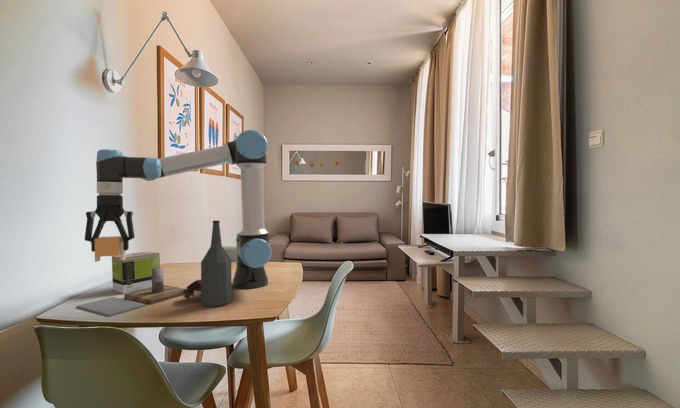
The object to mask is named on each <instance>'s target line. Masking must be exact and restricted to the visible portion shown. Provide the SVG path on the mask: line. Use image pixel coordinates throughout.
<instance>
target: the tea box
mask: <svg viewBox="0 0 680 408" xmlns="http://www.w3.org/2000/svg"><path fill="white" fill-rule="evenodd" d="M160 262H161V258H160V252H157V251H149V250H146V251H140V252H131V253H125V260H121V255H119V256H111V268H112V269H111V271H112V276H111V277H112V289H113V291H114V292H117V293H120V294H128V293H132V292H136V291H140V290H144V289H149V288H152V269H154V268H161V263H160Z"/></svg>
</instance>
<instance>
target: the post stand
mask: <svg viewBox="0 0 680 408" xmlns="http://www.w3.org/2000/svg"><path fill="white" fill-rule="evenodd" d="M184 289H186V290H188V289H187V288H183V287H179V286H174V285H173V286H171V285H166V284H164V268H163V267H160V268H154V269H152V288H147V289H143V290H138V291H134V292H129V293H125V294H124V297H123V299H125V300H129V301H133V302H138V301H139V302H138V303H142V304H146V305H147V304H148V305H154V304H157V303H161V302H164V301H168V300H171V299H174V298H179V297H181V296H184V294H185V293H184V292H183V290H184Z"/></svg>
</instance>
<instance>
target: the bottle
mask: <svg viewBox="0 0 680 408" xmlns="http://www.w3.org/2000/svg"><path fill="white" fill-rule="evenodd" d="M220 226H221V225H220V220H212V228H211V229H212V232H211V240H210V247H209V249H207V251H206V254H205V256H203V258H202V260H201V261H200V280H201V291H200V292H201V295H200V296H201V297H200V299H201V300H200V301H201V305H202V306H204V307H206V308H218V307H223V306H227V305H229V304H230V303H231V302H232V297H233V296H232V293H233V291H232V289H233V288H232V287H233V281H232V259H231V258H230V256H229V255H228V253H227V252H226V250H225V248H224V247H223V245H222V236H221V235H222V234H221V227H220Z"/></svg>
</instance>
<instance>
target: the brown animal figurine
mask: <svg viewBox="0 0 680 408" xmlns="http://www.w3.org/2000/svg"><path fill="white" fill-rule="evenodd" d="M186 289H188V290H186ZM183 292H184V293H185V294H184V295H183V297H184V298H186V299H187V300H189V299H190V297H195V292H201V279H196V280H194V281H193V282H191V283H190V284H189V285H187V286H186V287H185V288H184V290H183Z"/></svg>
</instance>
